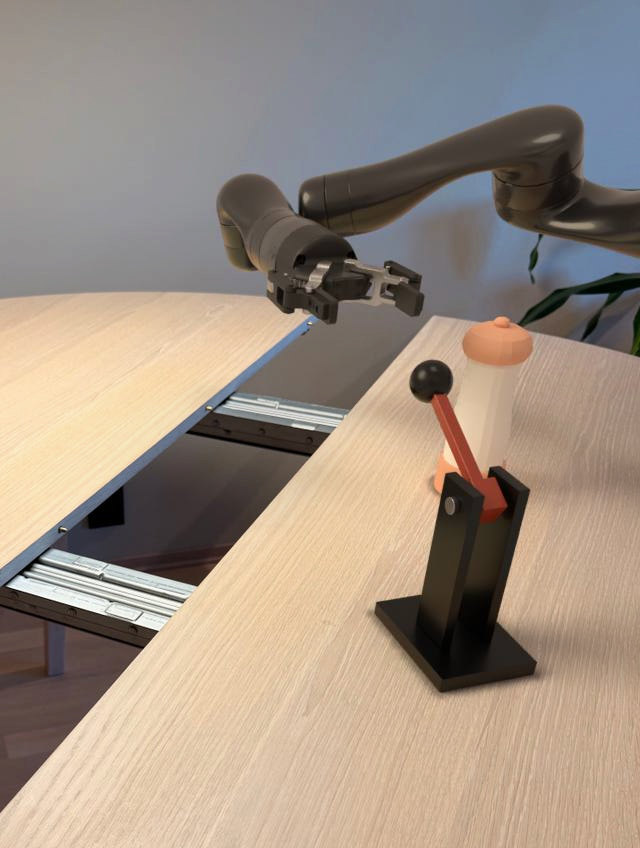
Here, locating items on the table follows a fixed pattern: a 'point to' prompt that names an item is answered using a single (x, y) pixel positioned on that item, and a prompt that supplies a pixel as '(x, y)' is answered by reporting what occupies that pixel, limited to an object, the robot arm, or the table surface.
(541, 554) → the table surface
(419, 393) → the lever
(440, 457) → the salt shaker
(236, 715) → the table surface
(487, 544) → the bracket
